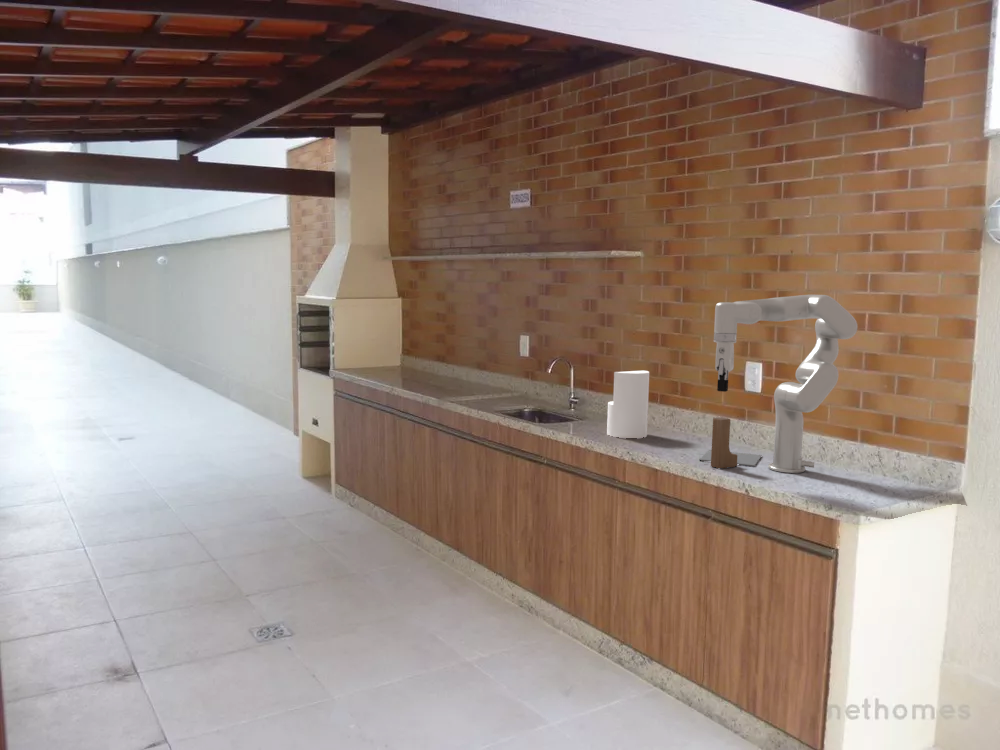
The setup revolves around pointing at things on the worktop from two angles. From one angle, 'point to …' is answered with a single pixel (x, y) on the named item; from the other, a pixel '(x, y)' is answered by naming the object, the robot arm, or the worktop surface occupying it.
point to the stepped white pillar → (629, 405)
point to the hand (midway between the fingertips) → (722, 390)
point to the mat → (741, 458)
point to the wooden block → (721, 444)
